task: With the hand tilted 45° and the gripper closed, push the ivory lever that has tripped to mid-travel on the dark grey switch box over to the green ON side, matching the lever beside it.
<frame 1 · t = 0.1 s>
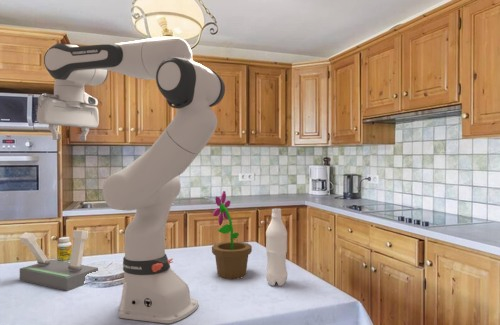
hand: (70, 140, 115), 48 cm above the table, tool pointing down, fingers open, 8 cm apart
switch box: (59, 279, 124), on the table
water bottle: (276, 284, 119), on the table
flowerpot: (231, 275, 129), on the table
on lever: (35, 249, 124), point 10 cm above the table, hinge at 30.0°
supplement bottle: (64, 261, 146), on the table
tripped lever: (77, 250, 121), point 11 cm above the table, hinge at -12.0°
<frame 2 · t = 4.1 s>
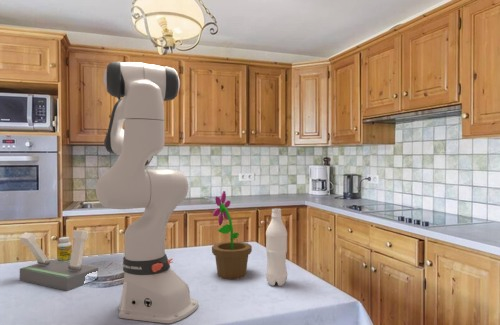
hand: (111, 205, 135), 24 cm above the table, tool tilted 40°, fingers closed
nothing on the table moved.
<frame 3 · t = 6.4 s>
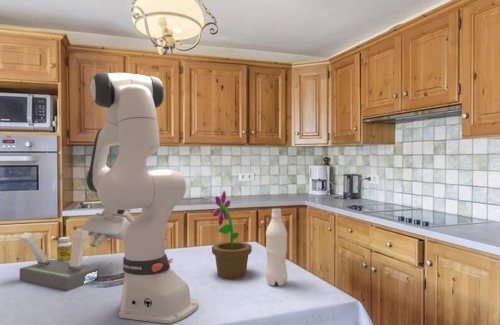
hand: (93, 246, 127), 11 cm above the table, tool tilted 45°, fingers closed
nothing on the table moved.
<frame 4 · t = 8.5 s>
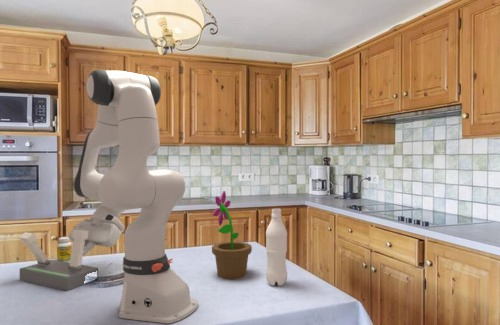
hand: (81, 254, 122), 9 cm above the table, tool tilted 45°, fingers closed, pressing on tripped lever
tripped lever: (77, 250, 121), point 11 cm above the table, hinge at -12.0°, touching gripper
everything else where it was.
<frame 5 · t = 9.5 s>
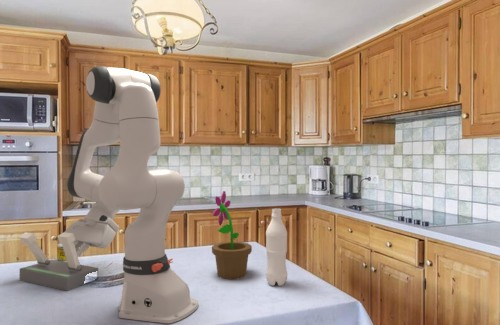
hand: (74, 255, 120), 9 cm above the table, tool tilted 45°, fingers closed, pressing on tripped lever
tripped lever: (70, 252, 119), point 11 cm above the table, hinge at 16.6°, touching gripper
everything else where it was.
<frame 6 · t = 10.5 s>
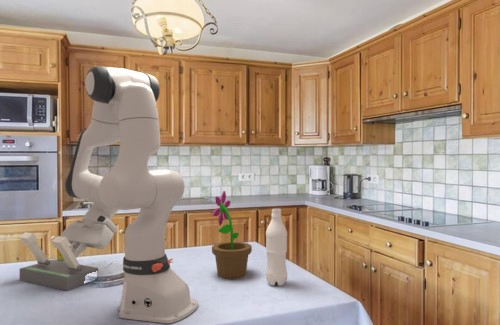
hand: (72, 256, 119), 9 cm above the table, tool tilted 45°, fingers closed, pressing on tripped lever
tripped lever: (67, 254, 118), point 10 cm above the table, hinge at 28.5°, touching gripper
everything else where it was.
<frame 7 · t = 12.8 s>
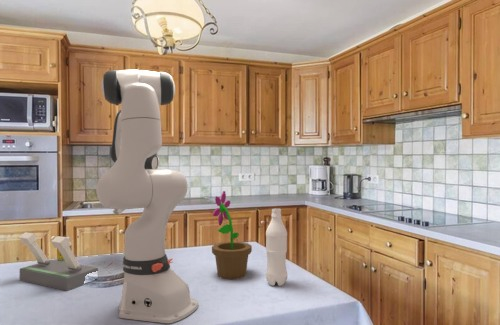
hand: (116, 213, 136), 21 cm above the table, tool tilted 45°, fingers closed
tripped lever: (67, 254, 118), point 10 cm above the table, hinge at 28.6°
everything else where it was.
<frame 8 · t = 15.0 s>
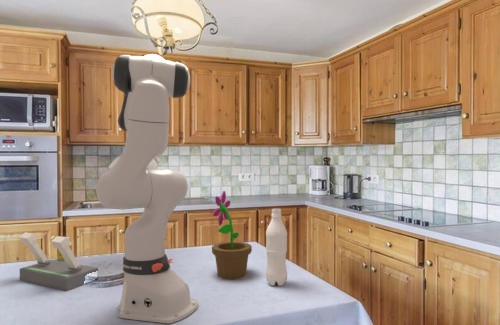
hand: (121, 181, 134), 33 cm above the table, tool tilted 45°, fingers closed
nothing on the table moved.
at the end: tripped lever at +29° (first picture: -12°); on lever at +30° (first picture: +30°) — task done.
